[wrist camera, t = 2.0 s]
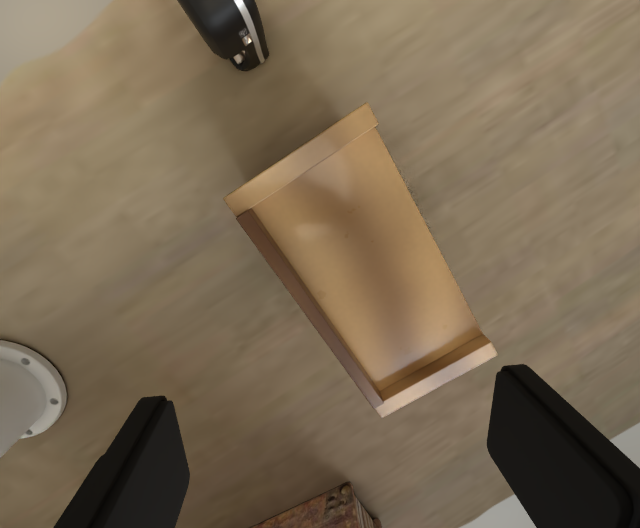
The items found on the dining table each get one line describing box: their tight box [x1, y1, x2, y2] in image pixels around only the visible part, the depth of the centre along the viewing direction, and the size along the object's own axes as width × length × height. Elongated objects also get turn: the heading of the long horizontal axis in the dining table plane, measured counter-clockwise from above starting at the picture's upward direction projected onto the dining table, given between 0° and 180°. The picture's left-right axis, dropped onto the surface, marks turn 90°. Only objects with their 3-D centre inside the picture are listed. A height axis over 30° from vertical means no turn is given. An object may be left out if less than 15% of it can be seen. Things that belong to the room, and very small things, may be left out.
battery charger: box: [177, 0, 269, 71], centre depth 23 cm, size 7×4×11 cm, turn 34°
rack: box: [223, 102, 498, 418], centre depth 29 cm, size 11×22×12 cm, turn 32°
